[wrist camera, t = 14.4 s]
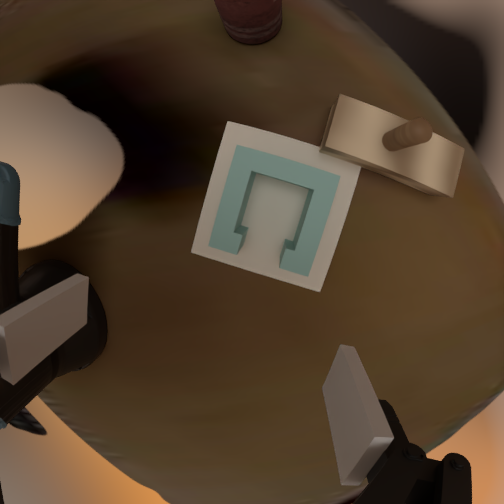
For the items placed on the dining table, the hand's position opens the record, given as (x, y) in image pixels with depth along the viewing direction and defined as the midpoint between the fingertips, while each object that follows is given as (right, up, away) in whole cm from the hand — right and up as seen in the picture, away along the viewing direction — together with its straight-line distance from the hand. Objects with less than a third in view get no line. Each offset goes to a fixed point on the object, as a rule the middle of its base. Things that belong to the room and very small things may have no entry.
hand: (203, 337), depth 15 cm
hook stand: (+16, +14, +14) cm, 26 cm away
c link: (+5, +9, +16) cm, 19 cm away
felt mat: (+5, +9, +17) cm, 19 cm away
